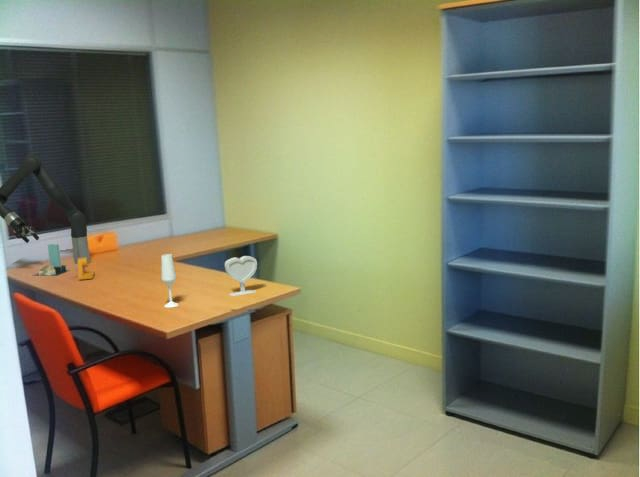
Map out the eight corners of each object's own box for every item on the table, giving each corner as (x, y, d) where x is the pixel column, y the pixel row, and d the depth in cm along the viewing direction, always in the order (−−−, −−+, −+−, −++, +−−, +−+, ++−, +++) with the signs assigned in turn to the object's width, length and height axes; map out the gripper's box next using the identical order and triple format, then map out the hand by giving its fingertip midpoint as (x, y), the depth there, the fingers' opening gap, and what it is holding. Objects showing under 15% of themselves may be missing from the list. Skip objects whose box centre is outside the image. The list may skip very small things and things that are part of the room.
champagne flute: (161, 307, 286) (156, 256, 281) (169, 302, 292) (164, 253, 287) (173, 307, 283) (168, 257, 279) (181, 303, 289) (177, 253, 285)
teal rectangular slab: (51, 271, 364) (47, 245, 361) (53, 270, 366) (49, 244, 363) (59, 271, 363) (56, 245, 360) (61, 270, 365) (58, 244, 362)
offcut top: (39, 271, 355) (39, 266, 355) (43, 269, 359) (42, 265, 358) (50, 271, 354) (50, 266, 354) (54, 269, 358) (53, 265, 357)
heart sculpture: (229, 296, 298) (226, 260, 294) (226, 294, 302) (223, 258, 299) (259, 291, 304) (257, 256, 301) (255, 289, 309) (253, 254, 305)
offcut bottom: (39, 275, 356) (38, 271, 356) (43, 273, 360) (43, 269, 359) (51, 275, 354) (50, 271, 354) (55, 273, 358) (55, 269, 357)
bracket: (92, 279, 344) (90, 258, 342) (79, 281, 343) (76, 260, 341) (95, 275, 355) (92, 255, 353) (82, 276, 353) (79, 256, 351)
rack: (32, 277, 356) (31, 270, 355) (47, 271, 369) (46, 265, 368) (56, 278, 352) (55, 271, 351) (70, 272, 365) (70, 265, 364)
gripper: (9, 218, 357) (28, 238, 356) (26, 215, 371) (44, 234, 370) (2, 227, 359) (21, 247, 359) (19, 223, 373) (38, 242, 372)
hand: (33, 240), depth 364 cm, fingers open, 8 cm apart
